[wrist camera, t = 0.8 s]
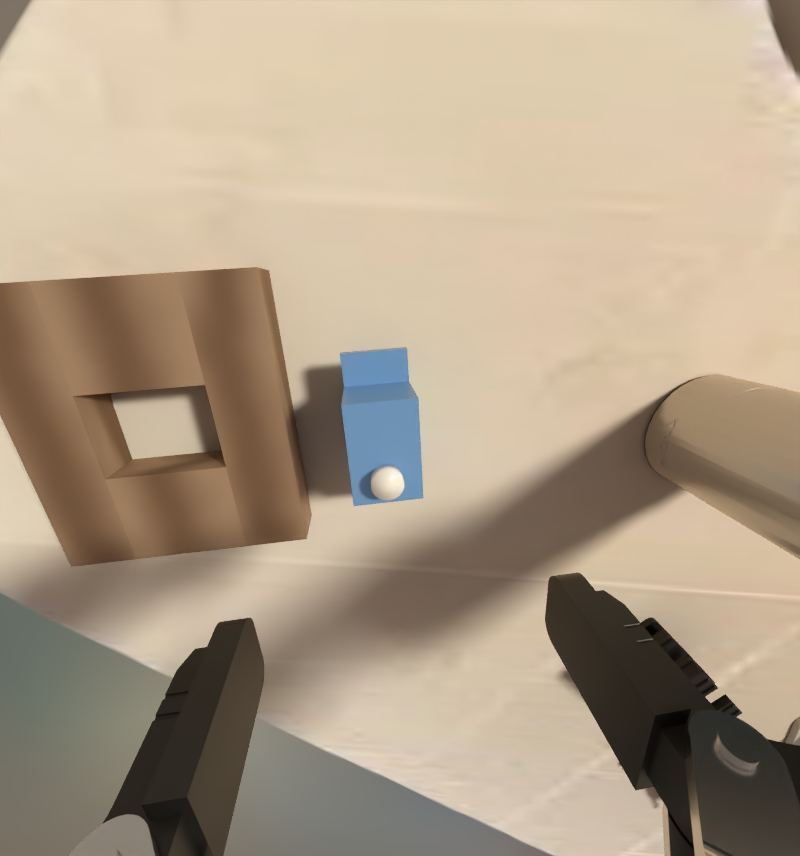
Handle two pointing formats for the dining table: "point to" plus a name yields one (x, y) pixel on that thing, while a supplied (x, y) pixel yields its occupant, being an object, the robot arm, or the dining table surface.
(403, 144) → the dining table surface
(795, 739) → the phone holder
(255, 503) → the board
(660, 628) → the end cap
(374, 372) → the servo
